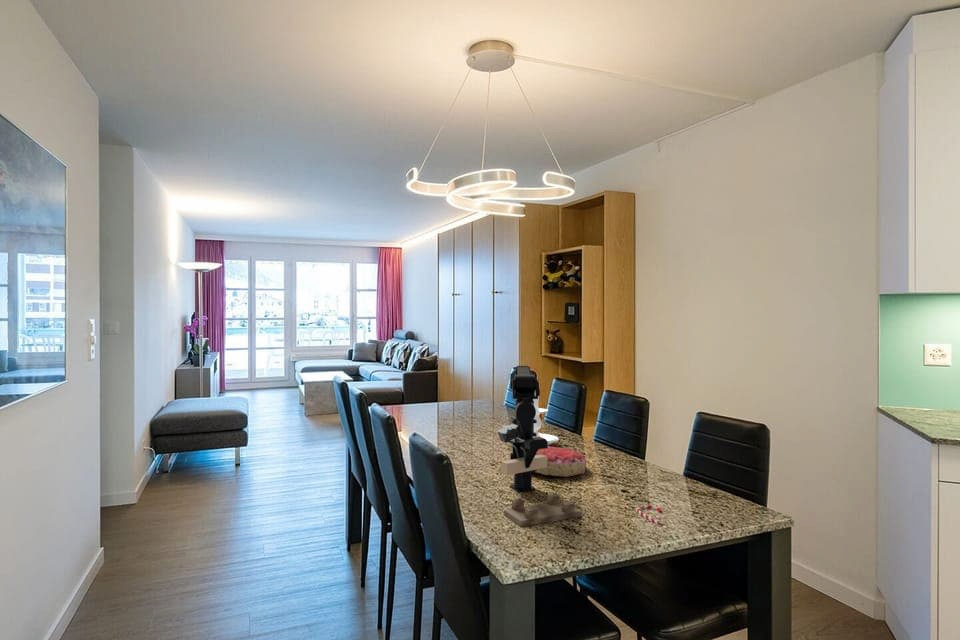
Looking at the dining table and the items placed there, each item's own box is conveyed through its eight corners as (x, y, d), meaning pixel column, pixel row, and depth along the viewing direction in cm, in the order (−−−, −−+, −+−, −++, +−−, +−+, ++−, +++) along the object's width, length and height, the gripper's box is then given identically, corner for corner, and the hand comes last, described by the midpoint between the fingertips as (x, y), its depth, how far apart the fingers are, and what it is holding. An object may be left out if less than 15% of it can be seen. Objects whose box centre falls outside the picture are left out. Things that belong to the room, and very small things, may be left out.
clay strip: (507, 475, 172) (507, 463, 172) (500, 473, 174) (501, 461, 174) (547, 467, 181) (547, 456, 181) (540, 465, 184) (540, 454, 184)
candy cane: (649, 522, 158) (631, 504, 173) (649, 527, 158) (631, 509, 173) (676, 522, 159) (657, 504, 174) (676, 527, 159) (657, 509, 174)
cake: (512, 473, 206) (513, 450, 206) (524, 459, 230) (526, 439, 231) (582, 483, 200) (583, 460, 200) (587, 468, 224) (589, 447, 224)
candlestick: (501, 440, 266) (501, 379, 265) (554, 440, 266) (555, 379, 266) (504, 450, 245) (504, 384, 245) (562, 450, 246) (562, 384, 245)
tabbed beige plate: (520, 526, 157) (520, 511, 157) (504, 514, 166) (504, 501, 166) (582, 516, 165) (582, 502, 165) (563, 505, 175) (563, 492, 174)
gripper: (488, 412, 183) (487, 462, 183) (515, 423, 166) (515, 477, 166) (519, 410, 188) (518, 458, 188) (549, 420, 171) (548, 472, 171)
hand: (524, 466), depth 178 cm, fingers closed on clay strip, 3 cm apart
